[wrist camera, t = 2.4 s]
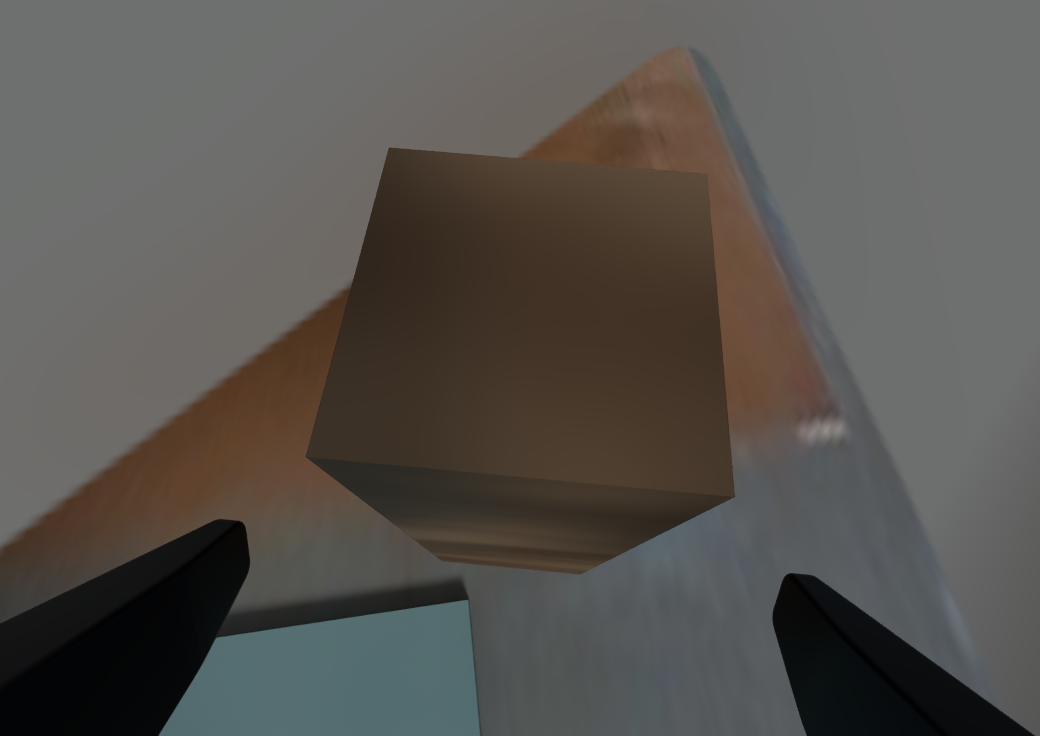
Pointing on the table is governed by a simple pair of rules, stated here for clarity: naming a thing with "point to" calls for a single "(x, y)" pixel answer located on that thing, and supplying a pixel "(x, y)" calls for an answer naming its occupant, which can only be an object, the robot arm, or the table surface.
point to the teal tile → (340, 679)
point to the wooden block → (530, 360)
